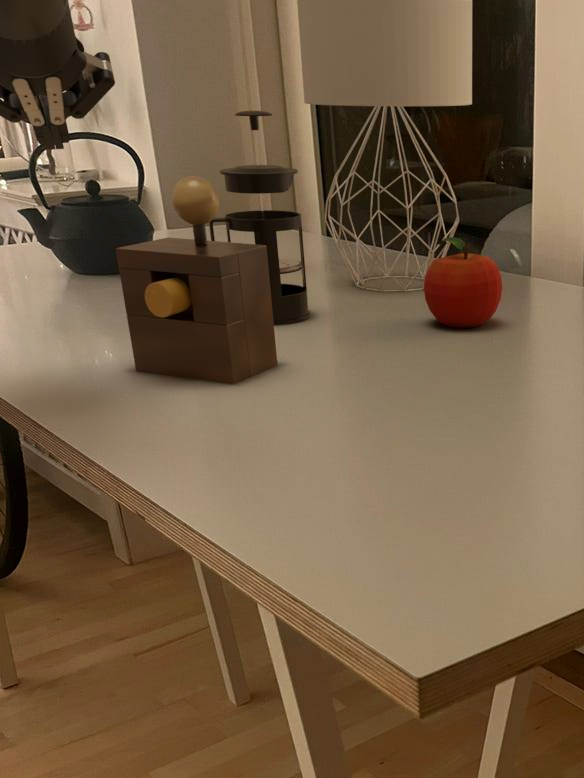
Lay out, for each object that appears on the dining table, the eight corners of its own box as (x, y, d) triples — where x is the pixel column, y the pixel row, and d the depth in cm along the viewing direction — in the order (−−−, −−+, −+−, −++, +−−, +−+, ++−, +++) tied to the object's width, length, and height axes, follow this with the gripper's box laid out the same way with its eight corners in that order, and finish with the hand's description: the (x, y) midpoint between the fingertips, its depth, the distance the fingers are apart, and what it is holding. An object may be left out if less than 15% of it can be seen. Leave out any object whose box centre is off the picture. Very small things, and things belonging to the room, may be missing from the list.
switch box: (233, 385, 98) (210, 184, 89) (135, 372, 102) (103, 178, 93) (277, 366, 104) (260, 176, 95) (184, 354, 108) (158, 171, 99)
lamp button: (174, 319, 94) (169, 284, 93) (147, 316, 95) (141, 281, 94) (193, 313, 97) (189, 278, 95) (167, 310, 98) (162, 276, 96)
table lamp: (325, 270, 153) (304, -41, 133) (469, 270, 154) (469, -39, 134) (309, 299, 134) (282, -60, 114) (474, 299, 135) (475, -57, 115)
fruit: (475, 337, 116) (475, 246, 111) (409, 326, 121) (407, 239, 116) (516, 322, 123) (519, 236, 118) (453, 313, 128) (453, 230, 123)
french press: (309, 307, 130) (294, 108, 118) (321, 323, 122) (306, 112, 110) (217, 312, 126) (193, 109, 115) (224, 329, 119) (198, 112, 107)
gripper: (95, -54, 76) (120, 99, 93) (-92, -52, 73) (-32, 107, 89) (115, 34, 76) (136, 172, 92) (-74, 40, 72) (-16, 183, 89)
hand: (53, 140), depth 91 cm, fingers closed
